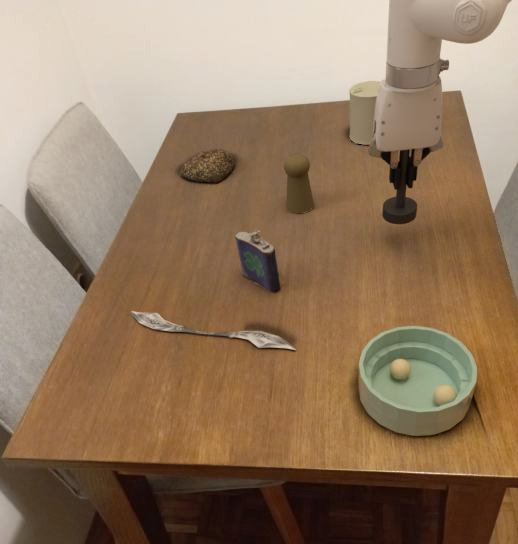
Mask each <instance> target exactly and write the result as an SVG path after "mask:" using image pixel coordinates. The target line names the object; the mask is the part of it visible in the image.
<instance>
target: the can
mask: <svg viewBox="0 0 518 544" xmlns="http://www.w3.org/2000/svg"><path fill="white" fill-rule="evenodd" d="M380 82H381V81H379V80H378V81H377V80H368V81H361V82H358V83H355V84H354V85H352V86H351V87H350V88H349V137H350V139H351V140H352V141H353V142H355V143H359V144H371V141H372V139H373V124H374V113H375V105H376V98H377V93H378V88H379V84H380ZM349 137H348V138H349ZM350 139H349V140H350ZM353 142H352V143H353Z"/></svg>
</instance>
